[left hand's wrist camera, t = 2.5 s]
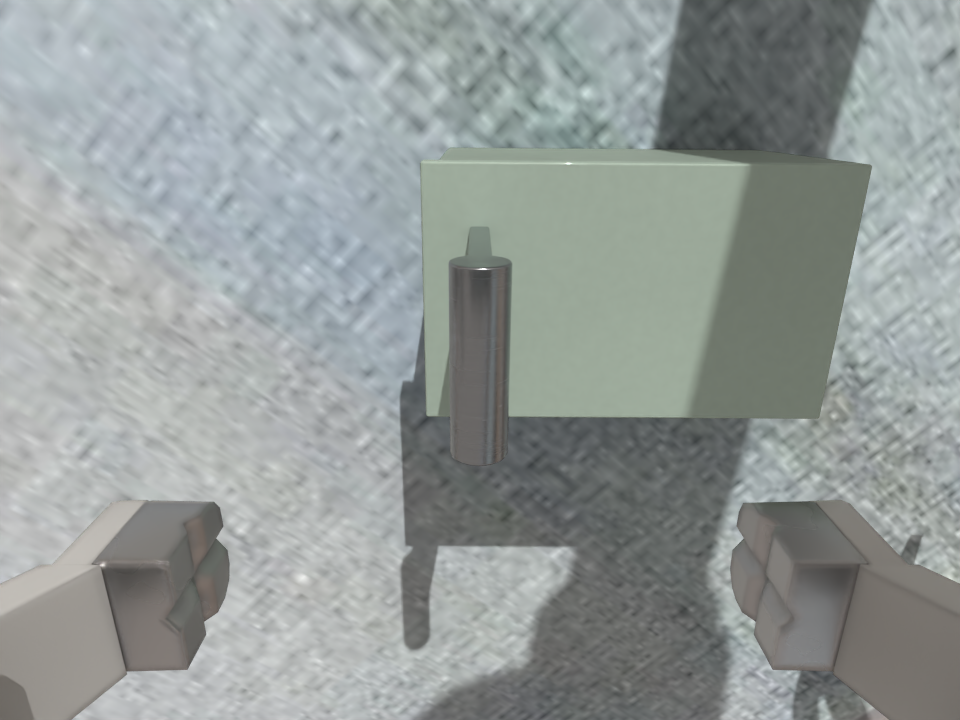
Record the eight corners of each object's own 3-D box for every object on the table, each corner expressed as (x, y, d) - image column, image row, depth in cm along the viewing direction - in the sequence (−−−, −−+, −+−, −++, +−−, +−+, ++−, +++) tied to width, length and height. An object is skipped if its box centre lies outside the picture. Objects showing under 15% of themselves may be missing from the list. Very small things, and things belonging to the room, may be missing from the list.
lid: (427, 407, 27) (407, 528, 19) (422, 159, 23) (394, 182, 15) (808, 409, 27) (944, 530, 19) (859, 162, 23) (1049, 187, 16)
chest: (450, 338, 35) (441, 407, 27) (448, 147, 31) (438, 159, 23) (730, 340, 35) (808, 409, 27) (759, 150, 32) (858, 163, 23)
